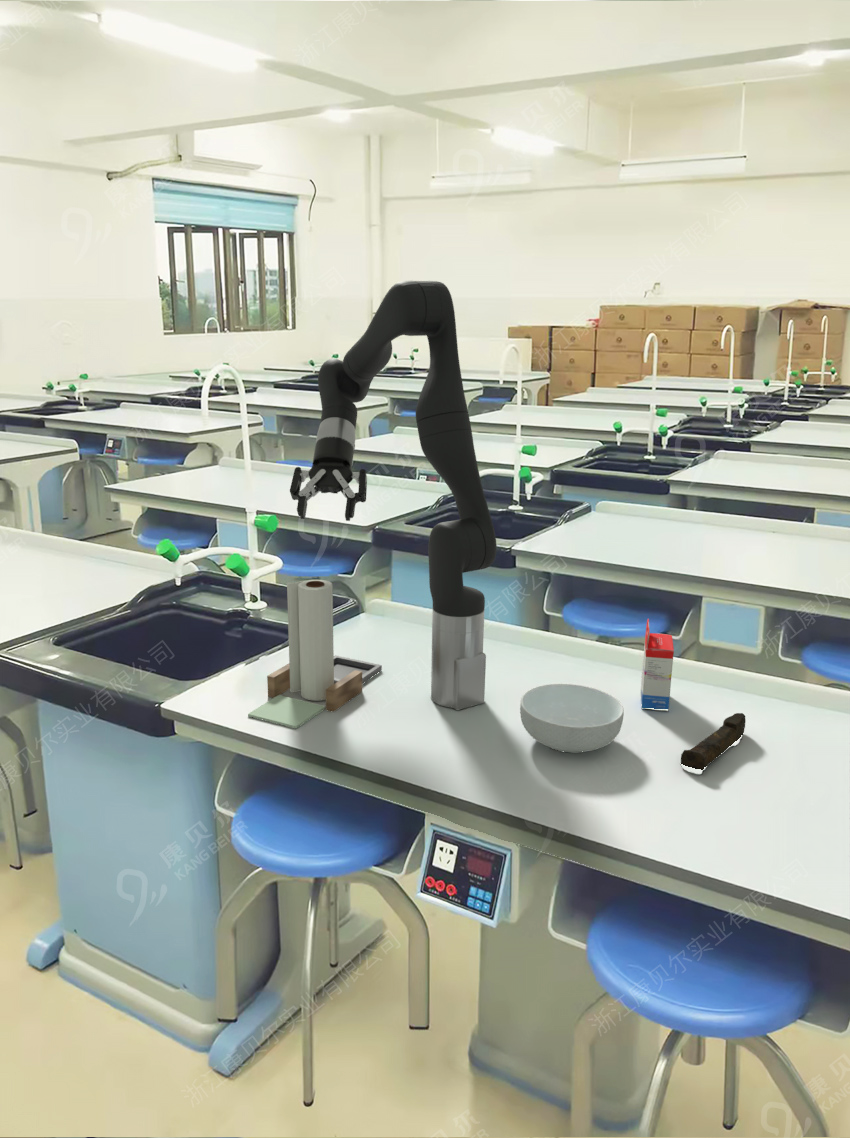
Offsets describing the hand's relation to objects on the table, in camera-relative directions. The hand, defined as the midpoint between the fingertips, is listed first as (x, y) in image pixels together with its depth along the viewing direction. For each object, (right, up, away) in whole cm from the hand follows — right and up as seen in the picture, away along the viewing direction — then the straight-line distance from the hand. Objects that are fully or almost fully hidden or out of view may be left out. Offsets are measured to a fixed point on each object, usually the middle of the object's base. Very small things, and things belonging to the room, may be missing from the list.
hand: (324, 517), depth 172 cm
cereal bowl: (+43, -38, -19) cm, 60 cm away
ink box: (+60, -34, -3) cm, 69 cm away
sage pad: (-5, -35, -10) cm, 37 cm away
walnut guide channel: (-1, -32, -2) cm, 33 cm away
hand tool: (+66, -40, -22) cm, 80 cm away
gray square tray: (+3, -30, +6) cm, 31 cm away
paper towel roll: (-1, -33, -2) cm, 33 cm away
